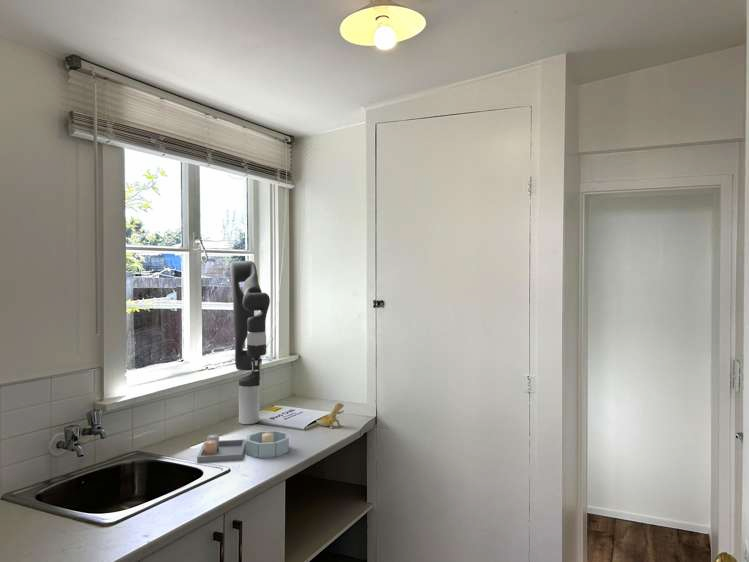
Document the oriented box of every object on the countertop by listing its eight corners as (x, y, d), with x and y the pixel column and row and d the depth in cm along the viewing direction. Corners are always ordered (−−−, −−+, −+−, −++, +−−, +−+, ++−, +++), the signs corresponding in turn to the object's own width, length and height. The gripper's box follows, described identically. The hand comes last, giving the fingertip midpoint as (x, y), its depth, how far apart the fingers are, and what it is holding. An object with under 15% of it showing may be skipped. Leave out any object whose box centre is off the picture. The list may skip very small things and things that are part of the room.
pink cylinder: (208, 448, 208) (208, 434, 208) (219, 448, 208) (219, 434, 208) (206, 452, 203) (206, 438, 203) (218, 451, 204) (218, 437, 204)
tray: (204, 446, 211) (204, 441, 211) (245, 444, 213) (245, 439, 213) (197, 462, 193) (197, 456, 193) (242, 460, 196) (242, 454, 195)
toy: (345, 423, 232) (340, 401, 235) (315, 433, 236) (310, 411, 239) (351, 423, 238) (345, 401, 241) (321, 432, 242) (316, 411, 245)
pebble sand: (262, 446, 208) (262, 432, 208) (273, 446, 208) (273, 432, 208) (261, 450, 203) (261, 436, 203) (273, 450, 204) (273, 436, 204)
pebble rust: (205, 454, 201) (205, 440, 201) (217, 454, 201) (217, 439, 201) (203, 458, 196) (203, 444, 196) (215, 458, 197) (215, 443, 197)
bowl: (248, 445, 212) (248, 431, 212) (288, 443, 215) (288, 429, 215) (245, 459, 197) (245, 444, 197) (288, 456, 199) (288, 442, 199)
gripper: (247, 340, 217) (248, 379, 217) (246, 346, 203) (246, 388, 203) (266, 339, 218) (266, 378, 219) (266, 345, 204) (266, 387, 205)
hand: (257, 383), depth 211 cm, fingers open, 8 cm apart
